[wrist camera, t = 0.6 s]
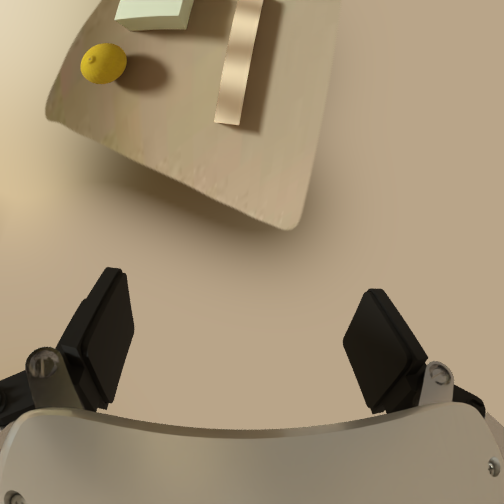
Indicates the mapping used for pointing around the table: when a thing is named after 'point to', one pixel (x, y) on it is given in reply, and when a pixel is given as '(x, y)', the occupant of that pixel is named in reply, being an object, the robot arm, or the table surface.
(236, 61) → the beige wavy bar
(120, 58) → the lemon
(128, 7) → the block
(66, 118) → the table surface
